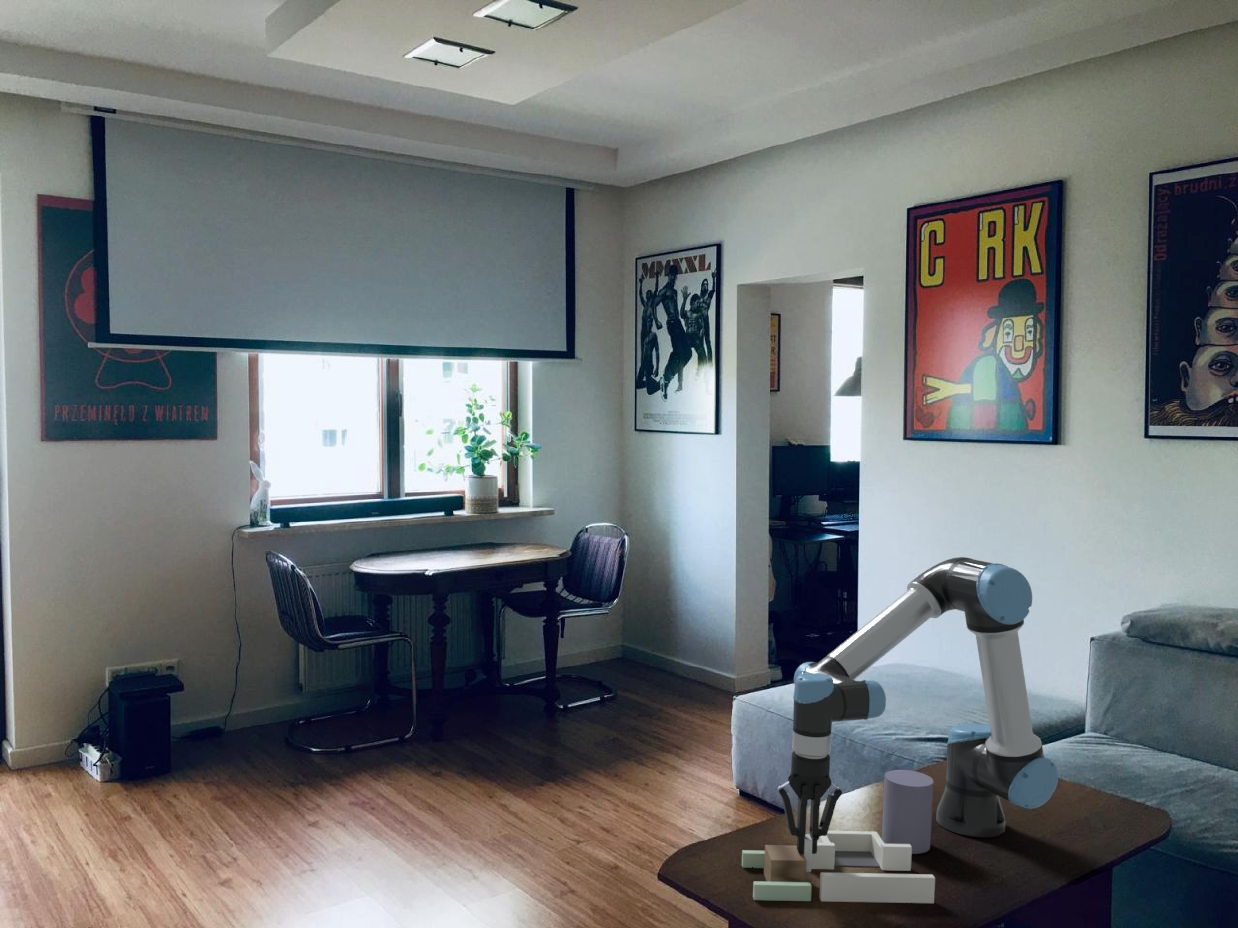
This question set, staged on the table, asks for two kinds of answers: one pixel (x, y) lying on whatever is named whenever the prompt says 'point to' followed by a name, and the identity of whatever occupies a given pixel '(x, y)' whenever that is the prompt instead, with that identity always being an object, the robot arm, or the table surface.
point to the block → (784, 864)
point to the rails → (774, 889)
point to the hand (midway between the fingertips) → (805, 868)
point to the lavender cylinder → (907, 809)
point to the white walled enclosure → (869, 886)
